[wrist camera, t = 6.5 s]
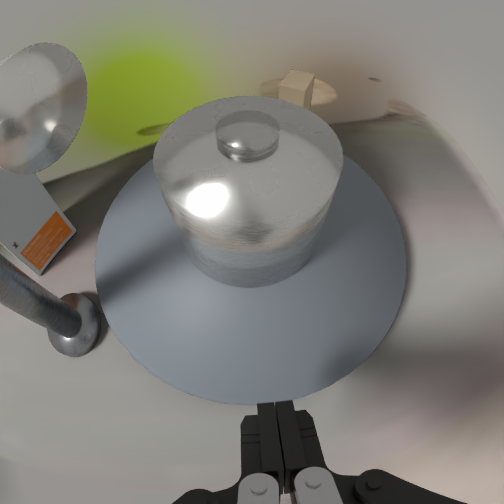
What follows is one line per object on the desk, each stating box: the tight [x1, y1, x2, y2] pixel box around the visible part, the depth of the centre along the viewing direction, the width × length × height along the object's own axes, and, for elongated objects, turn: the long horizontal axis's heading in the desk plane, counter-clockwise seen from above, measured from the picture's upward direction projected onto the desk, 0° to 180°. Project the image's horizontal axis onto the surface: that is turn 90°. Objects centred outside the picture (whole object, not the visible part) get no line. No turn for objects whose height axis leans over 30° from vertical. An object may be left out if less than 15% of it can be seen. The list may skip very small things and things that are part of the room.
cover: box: [153, 96, 343, 288], centre depth 17 cm, size 10×10×8 cm
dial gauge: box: [0, 43, 101, 357], centre depth 12 cm, size 8×10×18 cm
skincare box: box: [0, 169, 76, 276], centre depth 17 cm, size 6×4×12 cm
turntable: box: [95, 69, 407, 405], centre depth 18 cm, size 24×24×9 cm
